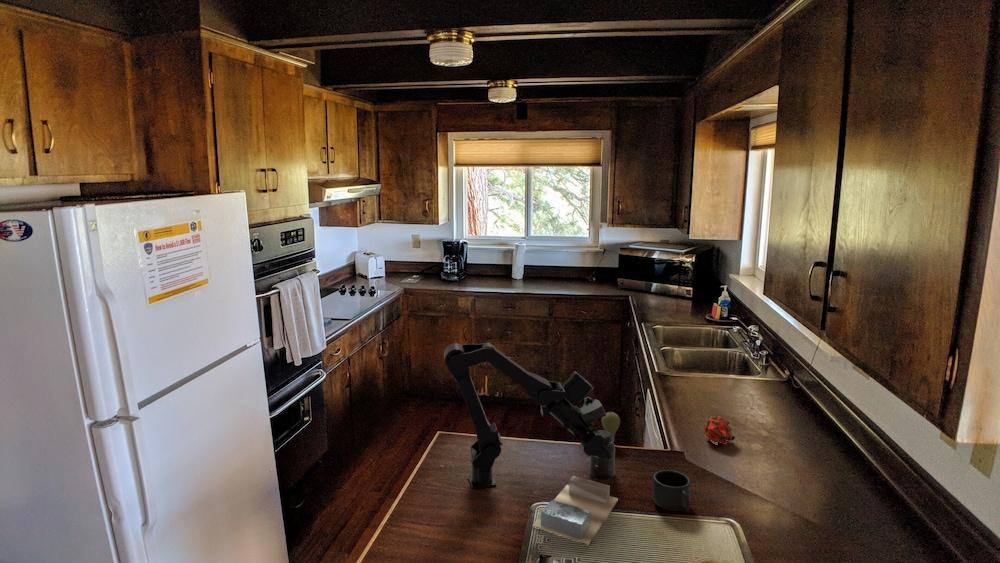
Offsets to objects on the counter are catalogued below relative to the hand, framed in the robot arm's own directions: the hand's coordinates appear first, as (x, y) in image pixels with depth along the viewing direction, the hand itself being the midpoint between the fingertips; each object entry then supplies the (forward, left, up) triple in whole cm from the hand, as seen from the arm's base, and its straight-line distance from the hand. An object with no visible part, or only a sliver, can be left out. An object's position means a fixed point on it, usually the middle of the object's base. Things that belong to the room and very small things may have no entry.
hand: (605, 449), depth 157 cm
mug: (+20, +9, -7) cm, 23 cm away
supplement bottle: (0, -1, -7) cm, 7 cm away
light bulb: (-17, +10, -7) cm, 21 cm away
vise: (+16, -15, -7) cm, 23 cm away
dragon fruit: (-8, +43, -7) cm, 44 cm away
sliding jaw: (+21, -20, -6) cm, 29 cm away
